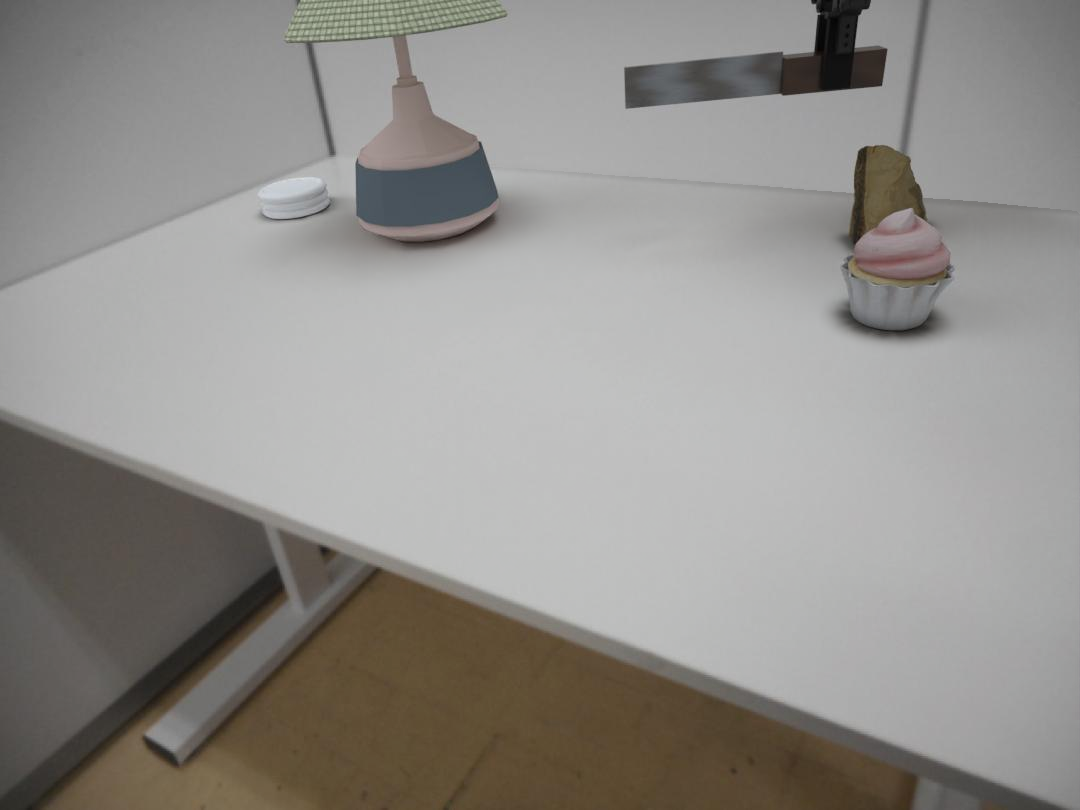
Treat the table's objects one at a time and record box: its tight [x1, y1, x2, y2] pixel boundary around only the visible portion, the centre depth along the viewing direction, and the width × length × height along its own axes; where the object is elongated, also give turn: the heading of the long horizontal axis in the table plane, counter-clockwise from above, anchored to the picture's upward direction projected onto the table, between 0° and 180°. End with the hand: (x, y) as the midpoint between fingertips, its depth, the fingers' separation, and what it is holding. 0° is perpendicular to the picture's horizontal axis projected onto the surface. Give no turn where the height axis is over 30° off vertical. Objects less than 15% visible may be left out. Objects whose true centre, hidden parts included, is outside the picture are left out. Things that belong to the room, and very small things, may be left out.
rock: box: [848, 144, 928, 246], centre depth 81 cm, size 11×9×10 cm
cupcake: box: [838, 208, 957, 331], centre depth 65 cm, size 9×9×10 cm
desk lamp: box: [282, 0, 509, 243], centre depth 89 cm, size 26×28×42 cm
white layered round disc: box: [257, 176, 331, 220], centre depth 111 cm, size 10×10×4 cm
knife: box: [623, 45, 888, 110], centre depth 76 cm, size 26×2×4 cm, turn 90°
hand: (830, 85), depth 77 cm, fingers closed on knife, 2 cm apart
